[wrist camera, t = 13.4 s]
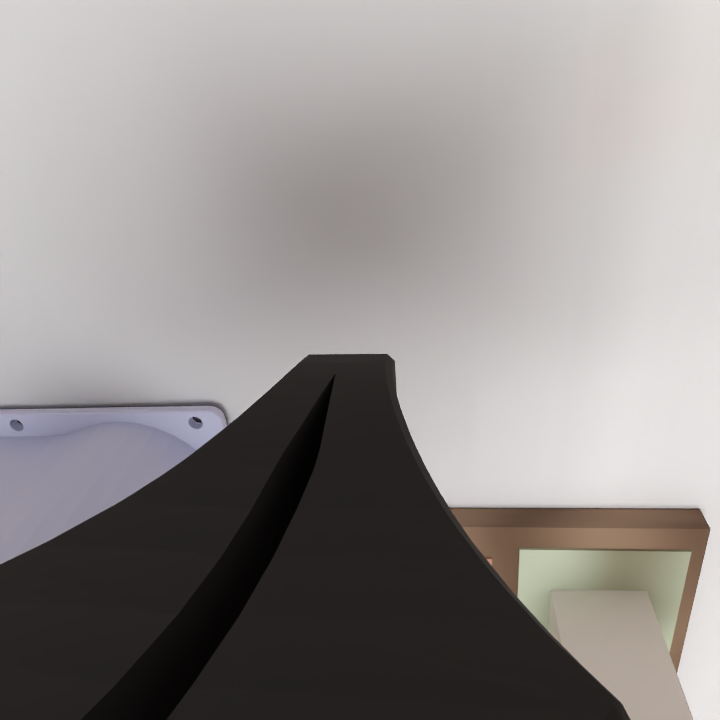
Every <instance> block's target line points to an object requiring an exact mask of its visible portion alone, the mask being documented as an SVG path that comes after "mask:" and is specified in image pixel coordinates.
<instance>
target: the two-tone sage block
mask: <svg viewBox="0 0 720 720" xmlns="http://www.w3.org/2000/svg"><path fill="white" fill-rule="evenodd" d="M548 632H549V633H550V634H551V635H552V636H553V637H554V638H555V639H556V640H557V641H558V642H559V643H560V644H561V645H562V646H563V647H564V648H565V649H566V650H567V651H568V652H569V653H570V654H571V655H572V656H573V657H574V658H575V659H576V660H577V661H578V662H579V663H580V664H581V665H582V666H583V667H584V668H585V669H586V670H587V671H588V672H590V673H591V674H592V675H593V676H594V677H595V678H596V679H597V680H598V681H599V682H600V683H601V684H602V685H603V686H604V687H605V688H606V689H607V690H608V691H609V692H611V693H612V694H613V695H614V696H615V697H616V698H617V699H618V700H619V701H620V702H621V703H622V704H623V706H624V708H625V710H626V712H627V714H628V716H629V718H630V720H693V717H692V714H691V712H690V709H689V706H688V703H687V701H686V698H685V695H684V692H683V690H682V687H681V684H680V681H679V678H678V676H677V673H676V670H675V667H674V665H673V662H672V659H671V656H670V654H669V651H668V648H667V645H666V642H665V640H664V637H663V634H662V631H661V629H660V626H659V623H658V620H657V618H656V615H655V612H654V609H653V606H652V604H651V601H650V598H649V595H648V593H647V591H622V590H553V589H551V592H550V608H549V623H548Z"/></svg>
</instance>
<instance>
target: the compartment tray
mask: <svg viewBox="0 0 720 720" xmlns="http://www.w3.org/2000/svg"><path fill="white" fill-rule="evenodd" d="M450 510H451V511H452V513H453V514H454V516H455V517H456V519H457V520H458V522H459V523H460V525H461V526H462V528H463V529H464V530H465V532H466V533H467V535H468V536H469V538H470V539H471V540H472V542H473V543H474V544H475V546H476V547H477V548H478V549H479V551H480V552H481V553H482V554H483V556H484V557H485V558H486V559H487V561H488V562H489V563H490V564H491V566H492V567H493V568H494V569H495V571H496V572H497V573H498V574H499V576H500V577H501V578H502V579H503V581H504V582H505V583H506V584H507V586H508V587H509V588H510V589H511V591H512V592H513V593H514V594H515V595H516V596H517V598H518V599H519V600H520V601H521V602H522V603H523V604H524V605H525V606H526V607H527V609H528V610H529V611H530V612H531V613H532V614H533V615H534V616H535V617H536V618H537V619H538V621H539V622H540V623H541V624H542V625H543V626H544V627H545V628H546V629H547V630H548V623H549V608H550V592H551V589H553V590H622V591H647V593H648V595H649V598H650V601H651V604H652V606H653V609H654V612H655V615H656V618H657V620H658V623H659V626H660V629H661V631H662V634H663V637H664V640H665V642H666V645H667V648H668V651H669V654H670V656H671V659H672V662H673V665H674V667H675V670H676V673H677V670H678V666H679V662H680V657H681V653H682V649H683V644H684V640H685V636H686V632H687V627H688V623H689V619H690V614H691V610H692V606H693V601H694V597H695V593H696V588H697V584H698V580H699V576H700V571H701V567H702V563H703V558H704V554H705V550H706V545H707V541H708V537H709V532H710V527H709V526H708V524H707V522H706V520H705V518H704V516H703V514H702V512H701V510H700V509H488V508H450Z"/></svg>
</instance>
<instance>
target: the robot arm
mask: <svg viewBox="0 0 720 720" xmlns="http://www.w3.org/2000/svg"><path fill="white" fill-rule="evenodd" d="M192 417H198V418H199V419H201V421H202V423H199V422H196V421H195V420H194V419H193V418H192ZM17 420H18V421H20V422H21V423H22V424H23V425H21V424H20V423H18V422H17ZM0 720H630V718H629V716H628V714H627V712H626V710H625V708H624V706H623V704H622V703H621V702H620V701H619V700H618V699H617V698H616V697H615V696H614V695H613V694H612V693H611V692H609V691H608V690H607V689H606V688H605V687H604V686H603V685H602V684H601V683H600V682H599V681H598V680H597V679H596V678H595V677H594V676H593V675H592V674H591V673H590V672H588V671H587V670H586V669H585V668H584V667H583V666H582V665H581V664H580V663H579V662H578V661H577V660H576V659H575V658H574V657H573V656H572V655H571V654H570V653H569V652H568V651H567V650H566V649H565V648H564V647H563V646H562V645H561V644H560V643H559V642H558V641H557V640H556V639H555V638H554V637H553V636H552V635H551V634H550V633H549V632H548V630H547V629H546V628H545V627H544V626H543V625H542V624H541V623H540V622H539V621H538V619H537V618H536V617H535V616H534V615H533V614H532V613H531V612H530V611H529V610H528V609H527V607H526V606H525V605H524V604H523V603H522V602H521V601H520V600H519V599H518V598H517V596H516V595H515V594H514V593H513V592H512V591H511V589H510V588H509V587H508V586H507V584H506V583H505V582H504V581H503V579H502V578H501V577H500V576H499V574H498V573H497V572H496V571H495V569H494V568H493V567H492V566H491V564H490V563H489V562H488V561H487V559H486V558H485V557H484V556H483V554H482V553H481V552H480V551H479V549H478V548H477V547H476V546H475V544H474V543H473V542H472V540H471V539H470V538H469V536H468V535H467V533H466V532H465V530H464V529H463V528H462V526H461V525H460V523H459V522H458V520H457V519H456V517H455V516H454V514H453V513H452V511H451V510H450V508H449V507H448V505H447V503H446V502H445V500H444V498H443V497H442V495H441V494H440V492H439V490H438V489H437V487H436V485H435V483H434V482H433V480H432V478H431V476H430V474H429V472H428V471H427V469H426V467H425V465H424V463H423V461H422V459H421V457H420V455H419V452H418V450H417V448H416V446H415V444H414V442H413V439H412V437H411V435H410V432H409V430H408V427H407V424H406V422H405V419H404V416H403V414H402V411H401V408H400V405H399V402H398V398H397V393H396V376H395V361H394V360H393V359H392V358H391V357H390V356H389V355H388V354H327V355H308V356H307V357H306V358H304V359H303V360H302V361H301V362H300V363H298V364H297V365H296V366H295V367H294V368H293V369H292V370H291V371H290V372H289V373H287V374H286V375H285V376H284V377H283V378H282V379H281V380H280V381H279V382H278V383H277V384H275V385H274V386H273V387H272V388H271V389H270V390H269V391H268V392H267V393H265V394H264V395H263V396H262V397H261V398H260V399H259V400H257V401H256V402H255V403H254V404H253V405H252V406H251V407H249V408H248V409H247V410H246V411H245V412H244V413H243V414H242V415H240V416H239V417H238V418H237V419H236V420H234V421H233V422H232V423H231V424H229V425H228V426H227V423H226V419H225V416H224V414H223V412H222V411H221V410H220V409H218V408H216V407H214V406H168V407H112V408H56V409H0Z"/></svg>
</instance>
